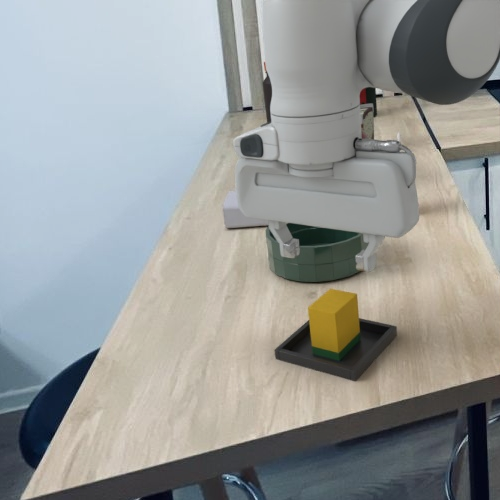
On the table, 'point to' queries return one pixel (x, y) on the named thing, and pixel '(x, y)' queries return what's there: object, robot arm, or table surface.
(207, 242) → the table surface
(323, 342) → the sponge
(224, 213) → the charger
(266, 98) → the vinegar
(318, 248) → the basin
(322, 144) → the robot arm
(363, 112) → the food container
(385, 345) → the square tray
